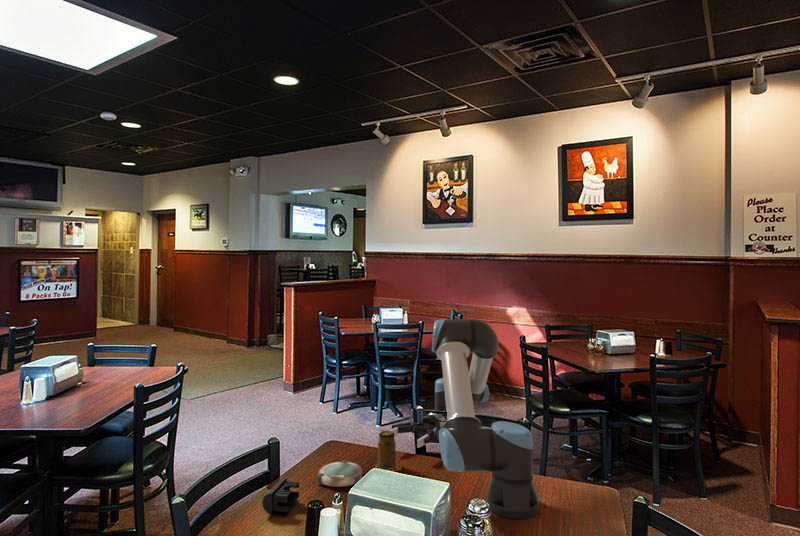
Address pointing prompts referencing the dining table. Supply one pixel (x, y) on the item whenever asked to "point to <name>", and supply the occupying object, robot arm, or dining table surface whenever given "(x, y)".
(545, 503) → the dining table surface
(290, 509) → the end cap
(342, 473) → the base
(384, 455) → the condiment
